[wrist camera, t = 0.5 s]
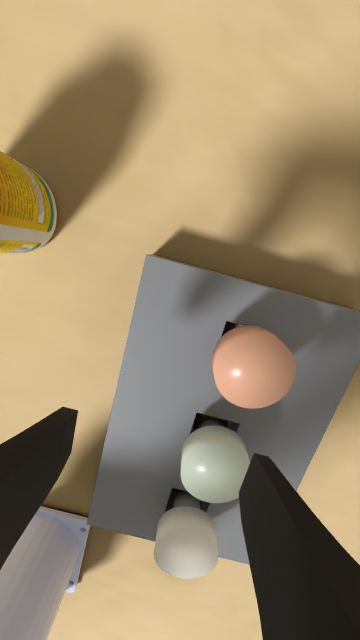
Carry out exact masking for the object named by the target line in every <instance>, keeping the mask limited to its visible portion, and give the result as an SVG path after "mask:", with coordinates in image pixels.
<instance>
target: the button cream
mask: <svg viewBox="0 0 360 640" xmlns="http://www.w3.org/2000/svg"><path fill="white" fill-rule="evenodd" d="M154 557H155V561H156V563H157V564H158V566H159V567H160V568H161V569H162V570H163V571H165V572H166V573H168V574H170V575H172V576H174V577H178V578H184V579H192V578H198V577H201V576H204V575H206V574H208V573H209V572H210V571H212V570H213V569H214V567H215V566H216V564H217V561H218V549H217V538H216V527H215V523H214V521H213V519H212V518H211V517H210V516H209V515H208V514H207V513H206V512H204V511H202V510H200V500H199V499H197V498H195V497H194V496H192V495H191V494H190V493H189V492H188V491H183V492H180V493H178V494H177V495H176V496H175V498H174V506H173V508H172V509H170V510H168V511H167V512H165V513H164V514H163V515H162V516H161V518H160V519H159V521H158V525H157V533H156V541H155V549H154Z"/></svg>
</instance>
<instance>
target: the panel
mask: <svg viewBox="0 0 360 640" xmlns="http://www.w3.org/2000/svg"><path fill="white" fill-rule="evenodd" d="M226 321H229V322H232V323H236V324H240V325H244V326H245V325H254V326H260V327H263V328H265V329H267V330H269V331H271V332H272V333H273V334H274V335H275V336H277V337H278V338H279V339H280V340H281V341H282V342H283V343H284V344H285V345H286V346H287V347H288V349H289V350H290V351H291V353H292V355H293V357H294V359H295V363H296V376H295V380H294V383H293V385H292V387H291V388H290V390H289V391H288V393H287V394H286V395H285V396H284V397H283V398H282V399H280V400H279V401H277V402H276V403H274V404H272V405H269V406H266V407H263V408H254V409H251V408H243V407H240V406H237V405H235V404H232V403H231V402H229V401H228V400H227V399H225V398H224V397H223V395H222V394H221V393H220V392H219V390H218V388H217V386H216V383H215V379H214V373H213V368H212V353H213V350H214V347H215V345H216V343H217V342H218V340H219V339H220V338H221V336H222V333H223V330H224V326H225V323H226ZM359 362H360V311H357V310H354V309H351V308H347V307H343V306H340V305H336V304H332V303H329V302H325V301H321V300H318V299H314V298H310V297H307V296H303V295H299V294H296V293H292V292H288V291H285V290H281V289H277V288H274V287H270V286H266V285H263V284H259V283H255V282H252V281H248V280H244V279H241V278H237V277H233V276H230V275H226V274H222V273H219V272H215V271H211V270H208V269H204V268H200V267H197V266H193V265H189V264H186V263H182V262H178V261H175V260H171V259H167V258H164V257H160V256H156V255H153V254H152V255H146V258H145V262H144V267H143V271H142V276H141V280H140V285H139V289H138V294H137V298H136V303H135V307H134V312H133V316H132V321H131V325H130V330H129V334H128V339H127V343H126V348H125V352H124V357H123V361H122V366H121V370H120V375H119V379H118V384H117V388H116V393H115V397H114V402H113V406H112V411H111V415H110V420H109V424H108V429H107V433H106V438H105V443H104V447H103V452H102V456H101V461H100V465H99V470H98V474H97V479H96V483H95V488H94V492H93V497H92V501H91V506H90V510H89V515H88V519H87V524H86V525H90V526H94V527H98V528H102V529H107V530H111V531H115V532H119V533H123V534H127V535H131V536H135V537H139V538H143V539H147V540H151V541H156V533H157V525H158V521H159V519H160V518H161V516H162V515H163V514H164V513H165V512H167V511H168V510H170V509H172V508H173V506H174V498H175V496H176V495H177V494H178V493H180V492H178V491H174V490H172V488H176V489H180V490H184V491H187V490H186V489H185V487H184V485H183V483H182V480H181V455H182V446H183V444H184V441H185V440H186V438H187V437H188V436H189V435H190V434H191V433H192V432H194V431H195V430H197V428H194V427H192V425H193V422H194V419H195V416H196V413H201V414H205V415H208V416H212V417H216V418H220V419H224V420H227V423H226V426H225V427H226V428H228V429H231V430H232V431H234V432H236V433H237V434H238V435H239V436H240V437H241V438H242V440H243V442H244V443H245V446H246V450H247V453H248V457H249V460H250V462H251V459H252V457H253V454H254V453H256V454H260V455H265V456H269V457H270V459H271V460H272V461H273V462H274V464H275V465H276V466H277V467H278V469H279V470H280V471H281V472H282V474H283V475H284V476H285V478H286V479H287V480H288V481H289V483H290V484H291V485H292V487H293V488H294V489H295V491H296V490H297V488H298V486H299V484H300V482H301V480H302V478H303V476H304V474H305V472H306V470H307V468H308V466H309V464H310V462H311V460H312V458H313V456H314V454H315V452H316V449H317V447H318V445H319V443H320V441H321V439H322V437H323V435H324V433H325V431H326V429H327V427H328V425H329V423H330V421H331V419H332V417H333V415H334V413H335V411H336V409H337V407H338V404H339V402H340V400H341V398H342V396H343V394H344V392H345V390H346V388H347V386H348V384H349V382H350V380H351V378H352V376H353V374H354V372H355V370H356V368H357V366H358V364H359ZM200 510H202V511H204V512H206V513H207V514H208V515H209V516H210V517H211V518H212V519H213V521H214V523H215V527H216V538H217V549H218V557H221V558H225V559H229V560H233V561H237V562H241V563H245V564H249V559H248V554H247V549H246V544H245V539H244V534H243V529H242V523H241V514H240V504H239V497H238V498H236V499H234V500H232V501H229V502H225V503H209V502H205V501H202V500H200ZM249 565H250V564H249Z"/></svg>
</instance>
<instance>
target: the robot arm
mask: <svg viewBox="0 0 360 640" xmlns="http://www.w3.org/2000/svg"><path fill="white" fill-rule="evenodd" d="M77 414H78V410H74V409H70V408H66V407H62V408H60V409H58V410H57V411H55V412H53V413H52V414H50V415H49V416H47V417H46V418H44V419H42V420H41V421H39V422H38V423H36V424H34V425H33V426H31V427H29V428H28V429H26V430H24V431H23V432H21V433H19V434H18V435H16V436H14V437H13V438H11V439H9V440H7V441H6V442H4V443H2V444H0V640H47V638H48V635H49V633H50V630H51V627H52V625H53V622H54V619H55V617H56V614H57V611H58V609H59V606H60V603H61V601H62V598H63V595H64V593H65V592H68V593H73V592H74V591H75V589H76V587H77V582H78V578H79V573H80V569H81V565H82V560H83V556H84V552H85V547H86V543H87V538H88V534H89V530H90V525H86V524H87V519H88V518H87V517H83V516H79V515H75V514H71V513H67V512H63V511H59V510H55V509H50V508H46V507H42V506H41V504H42V503H43V501H44V500H45V498H46V497H47V495H48V494H49V492H50V490H51V489H52V487H53V486H54V484H55V483H56V481H57V479H58V477H59V476H60V474H61V472H62V470H63V468H64V466H65V464H66V462H67V460H68V458H69V456H70V454H71V450H72V444H73V438H74V432H75V426H76V420H77ZM239 504H240V514H241V523H242V529H243V534H244V539H245V544H246V549H247V554H248V559H249V564H250V568H251V573H252V578H253V583H254V588H255V593H256V598H257V603H258V609H259V615H260V621H261V628H262V636H263V640H360V565H359V564H358V563H357V562H356V561H355V560H354V559H353V558H352V557H351V556H350V555H349V553H348V552H347V551H346V550H345V549H344V548H343V547H342V546H341V545H340V544H339V542H338V541H337V540H336V539H335V538H334V537H333V536H332V534H331V533H330V532H329V531H328V530H327V529H326V527H325V526H324V525H323V524H322V523H321V522H320V520H319V519H318V518H317V517H316V516H315V514H314V513H313V512H312V511H311V509H310V508H309V507H308V506H307V504H306V503H305V502H304V501H303V499H302V498H301V497H300V496H299V494H298V493H297V492H296V491H295V489H294V488H293V487H292V485H291V484H290V483H289V481H288V480H287V479H286V478H285V476H284V475H283V474H282V472H281V471H280V470H279V469H278V467H277V466H276V465H275V464H274V462H273V461H272V460H271V459H270V457H269V456H265V455H260V454H256V453H254V454H253V457H252V459H251V462H250V464H249V467H248V470H247V472H246V475H245V477H244V480H243V482H242V485H241V488H240V490H239Z"/></svg>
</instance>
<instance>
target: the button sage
mask: <svg viewBox="0 0 360 640" xmlns="http://www.w3.org/2000/svg"><path fill="white" fill-rule="evenodd" d="M249 464H250V460H249V457H248V453H247V450H246V446H245V443H244V442H243V440H242V438H241V437H240V436H239V435H238V434H237V433H236V432H234V431H232V430H231V429H228V428H226V427H225V426H224V425H223V424H222V423H221V422H220V421H218V420H215V419H208V420H205V421H203V422H201V423H200V424H199V426H198V428H197V430H195V431H194V432H192V433H191V434H190V435H189V436H188V437H187V438H186V440H185V441H184V444H183V446H182V455H181V480H182V483H183V485H184V487H185V489H186V490H187V491H188V492H189V493H190V494H191V495H192V496H194V497H195V498H197V499H199V500H202V501H205V502H209V503H225V502H229V501H232V500H234V499H236V498H238V497H239V490H240V488H241V485H242V482H243V480H244V477H245V475H246V472H247V470H248V467H249Z"/></svg>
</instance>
